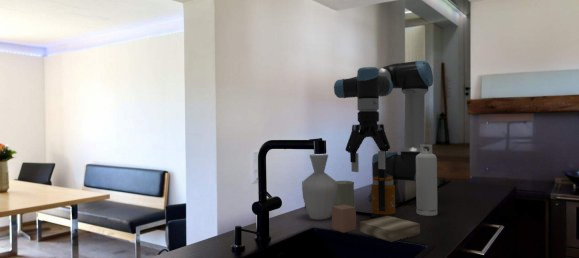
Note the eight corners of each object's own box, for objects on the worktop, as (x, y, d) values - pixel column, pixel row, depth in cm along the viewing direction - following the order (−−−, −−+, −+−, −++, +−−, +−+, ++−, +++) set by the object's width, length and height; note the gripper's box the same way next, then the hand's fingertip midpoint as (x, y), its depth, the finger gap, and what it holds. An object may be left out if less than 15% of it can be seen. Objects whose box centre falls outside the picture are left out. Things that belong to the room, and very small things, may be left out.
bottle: (438, 211, 162) (437, 144, 162) (436, 216, 155) (435, 145, 155) (417, 210, 166) (416, 144, 165) (415, 214, 159) (414, 145, 158)
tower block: (332, 228, 141) (331, 206, 141) (344, 226, 144) (344, 204, 144) (343, 232, 136) (342, 209, 136) (356, 229, 139) (355, 207, 139)
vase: (318, 211, 168) (317, 152, 167) (345, 216, 158) (343, 154, 157) (294, 217, 158) (293, 155, 157) (321, 223, 148) (320, 157, 147)
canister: (396, 215, 157) (395, 166, 157) (394, 222, 147) (393, 169, 147) (373, 214, 160) (372, 165, 160) (369, 221, 150) (368, 168, 150)
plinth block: (359, 233, 136) (359, 221, 136) (388, 226, 144) (388, 215, 144) (391, 243, 124) (390, 230, 124) (420, 235, 132) (420, 223, 132)
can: (345, 211, 166) (344, 183, 166) (329, 208, 173) (328, 181, 173) (358, 208, 172) (358, 180, 172) (342, 205, 179) (342, 178, 179)
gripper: (349, 110, 130) (350, 174, 131) (399, 110, 145) (400, 168, 145) (334, 111, 137) (335, 172, 137) (383, 111, 151) (384, 167, 151)
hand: (368, 170), depth 141 cm, fingers open, 13 cm apart
